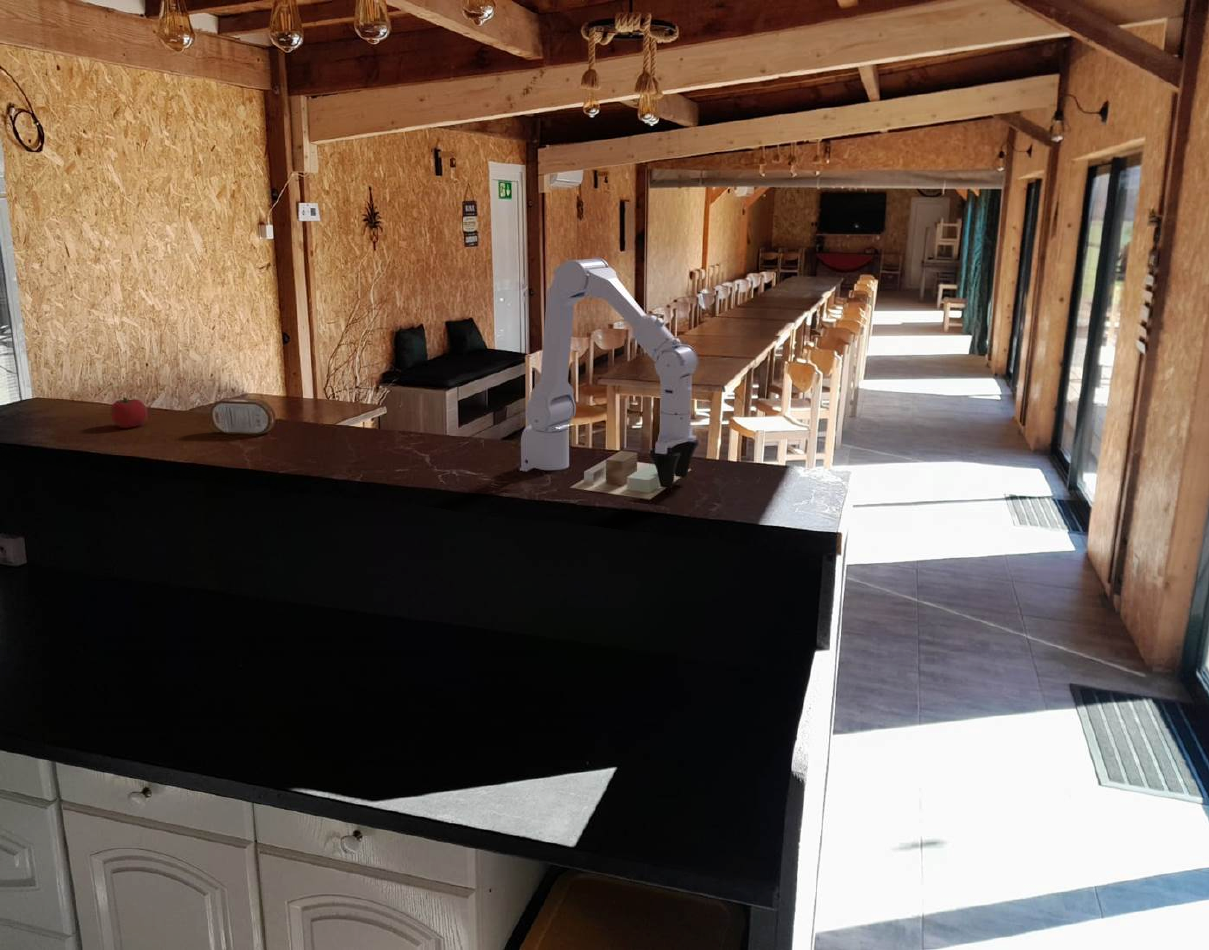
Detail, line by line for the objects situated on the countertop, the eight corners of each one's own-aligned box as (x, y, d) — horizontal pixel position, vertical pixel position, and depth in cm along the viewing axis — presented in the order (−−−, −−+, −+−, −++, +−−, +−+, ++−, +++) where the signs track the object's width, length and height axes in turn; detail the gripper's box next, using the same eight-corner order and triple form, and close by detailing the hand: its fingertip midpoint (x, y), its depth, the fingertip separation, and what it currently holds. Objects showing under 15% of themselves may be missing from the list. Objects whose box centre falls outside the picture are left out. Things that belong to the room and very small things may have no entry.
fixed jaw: (584, 484, 181) (584, 471, 180) (606, 471, 190) (606, 459, 189) (593, 485, 180) (593, 473, 180) (615, 472, 189) (615, 460, 188)
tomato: (121, 432, 223) (117, 402, 221) (105, 426, 228) (101, 397, 226) (154, 426, 229) (150, 396, 227) (138, 421, 234) (134, 392, 232)
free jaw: (626, 489, 177) (626, 477, 177) (647, 476, 186) (647, 464, 185) (649, 493, 175) (649, 480, 175) (669, 479, 184) (669, 467, 183)
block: (605, 484, 181) (606, 459, 180) (620, 475, 187) (621, 450, 186) (622, 486, 180) (622, 461, 178) (636, 477, 186) (637, 452, 184)
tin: (277, 433, 223) (274, 398, 221) (271, 436, 220) (268, 401, 218) (217, 431, 225) (213, 396, 222) (210, 434, 222) (206, 399, 219)
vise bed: (570, 492, 179) (570, 487, 179) (617, 464, 198) (618, 459, 198) (649, 504, 173) (649, 499, 172) (691, 473, 192) (691, 469, 191)
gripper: (681, 421, 166) (679, 494, 170) (709, 406, 179) (706, 474, 183) (645, 417, 169) (644, 489, 173) (674, 402, 182) (672, 470, 186)
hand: (673, 481), depth 178 cm, fingers open, 7 cm apart
